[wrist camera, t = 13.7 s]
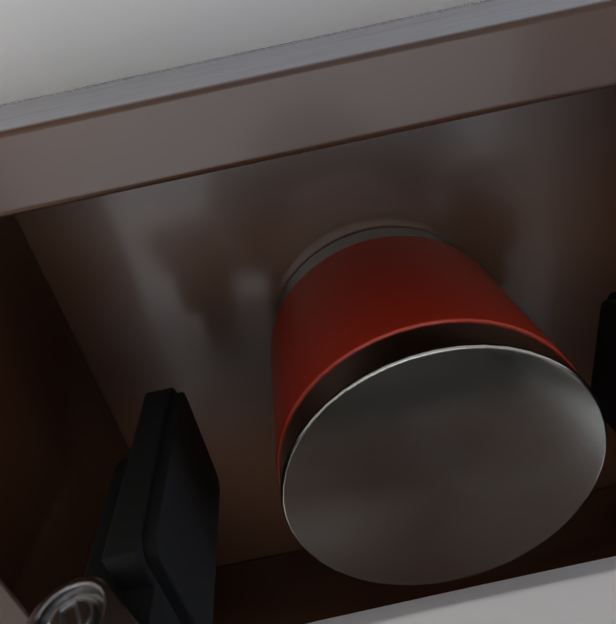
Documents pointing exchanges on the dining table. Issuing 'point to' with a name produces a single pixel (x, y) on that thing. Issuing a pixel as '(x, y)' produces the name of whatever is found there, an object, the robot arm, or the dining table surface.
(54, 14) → the dining table surface
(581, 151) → the chest
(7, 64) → the dining table surface
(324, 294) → the tin can
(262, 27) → the dining table surface
